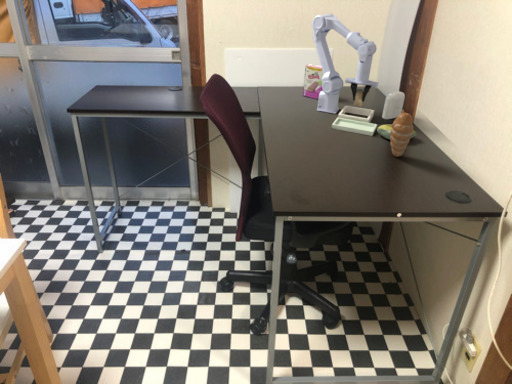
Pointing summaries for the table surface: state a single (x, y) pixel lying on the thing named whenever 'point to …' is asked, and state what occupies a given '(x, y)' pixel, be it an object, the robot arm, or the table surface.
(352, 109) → the square open frame
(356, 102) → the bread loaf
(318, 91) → the candy bar box
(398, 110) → the photo printer
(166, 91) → the table surface
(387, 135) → the cell model
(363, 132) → the tray
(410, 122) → the tan ribbed oblong piece
